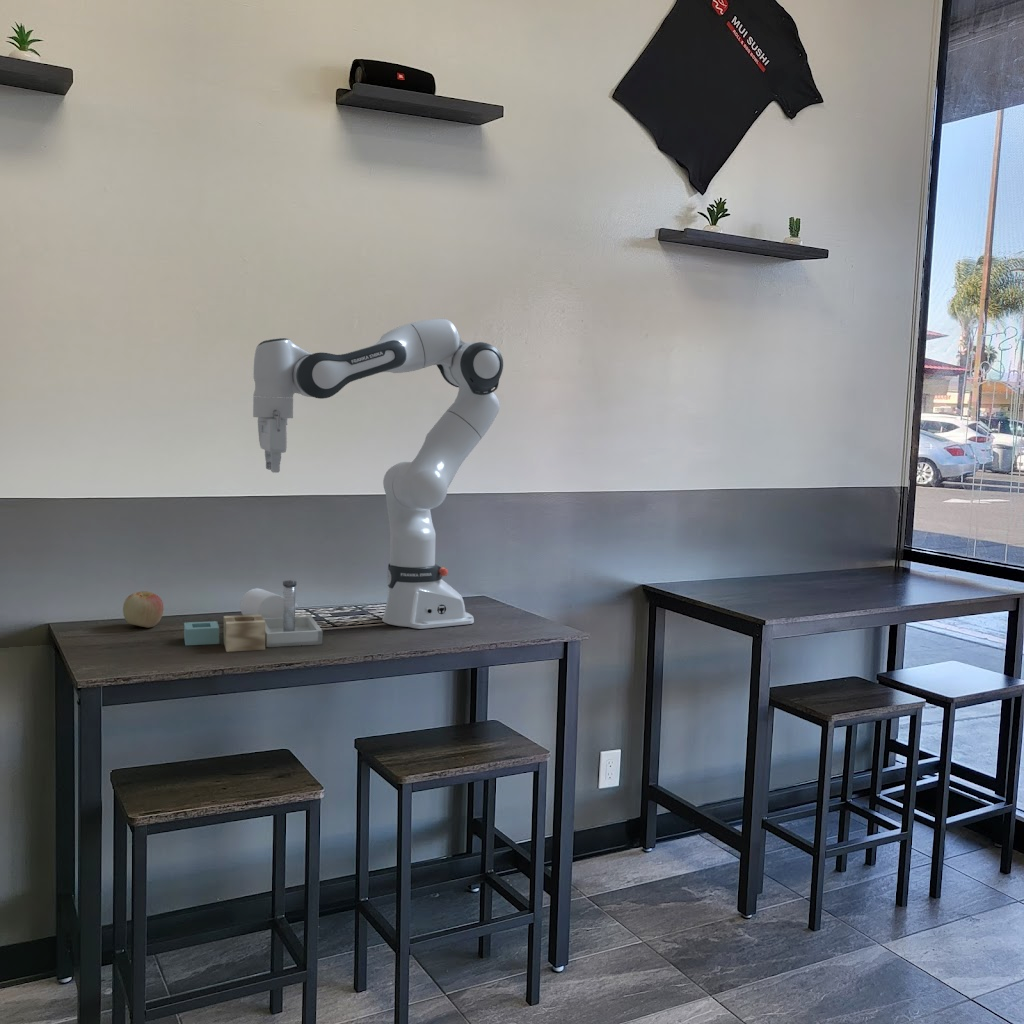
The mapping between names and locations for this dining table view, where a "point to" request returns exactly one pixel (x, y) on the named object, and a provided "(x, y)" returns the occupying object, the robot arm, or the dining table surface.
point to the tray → (292, 632)
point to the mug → (263, 604)
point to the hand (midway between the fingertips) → (272, 470)
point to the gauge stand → (201, 633)
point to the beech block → (244, 633)
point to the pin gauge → (289, 606)
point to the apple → (143, 609)
